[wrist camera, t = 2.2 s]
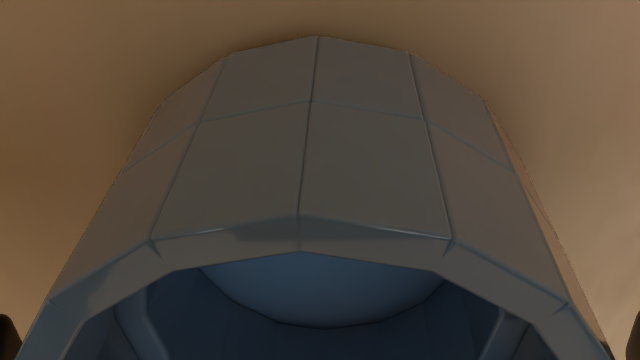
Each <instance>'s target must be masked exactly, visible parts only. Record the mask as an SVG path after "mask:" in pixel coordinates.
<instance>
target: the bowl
mask: <svg viewBox="0 0 640 360" xmlns="http://www.w3.org/2000/svg"><path fill="white" fill-rule="evenodd" d="M14 360H615V358H614V356H613V354H612V352H611V350H610V347H609V345H608V343H607V341H606V339H605V337H604V335H603V332H602V330H601V328H600V326H599V324H598V322H597V320H596V318H595V315H594V313H593V311H592V309H591V307H590V305H589V303H588V300H587V298H586V296H585V294H584V292H583V290H582V288H581V285H580V283H579V281H578V279H577V277H576V275H575V273H574V271H573V268H572V266H571V264H570V262H569V260H568V258H567V256H566V253H565V251H564V249H563V247H562V245H561V244H560V242H559V239H558V237H557V234H556V232H555V230H554V228H553V226H552V224H551V222H550V219H549V217H548V215H547V213H546V211H545V209H544V207H543V204H542V202H541V200H540V198H539V196H538V194H537V192H536V189H535V187H534V185H533V183H532V181H531V179H530V177H529V175H528V172H527V170H526V168H525V166H524V164H523V162H522V160H521V158H520V156H519V154H518V153H517V151H516V150H515V148H514V146H513V145H512V143H511V142H510V140H509V138H508V137H507V135H506V133H505V132H504V130H503V129H502V127H501V125H500V124H499V122H498V120H497V119H496V117H495V116H494V114H493V112H492V111H491V109H490V108H489V106H488V104H487V103H486V101H485V100H483V99H481V97H480V95H478V94H476V93H475V92H473V91H472V90H470V89H469V88H467V87H465V86H464V85H462V84H461V83H459V82H458V81H456V80H454V79H453V78H451V77H450V76H448V75H447V74H445V73H444V72H442V71H440V70H439V69H437V68H436V67H434V66H433V65H431V64H429V63H428V62H426V61H425V60H423V59H422V58H420V57H419V56H417V55H415V54H412V53H410V54H409V53H408V52H406V51H404V50H398V49H392V48H387V47H381V46H375V45H370V44H364V43H358V42H352V41H347V40H341V39H335V38H329V37H319V38H318V36H316V35H314V36H309V37H305V38H300V39H295V40H290V41H286V42H281V43H276V44H271V45H267V46H262V47H257V48H253V49H248V50H243V51H238V52H234V53H231V54H229V56H227V57H223V58H222V59H221V60H219V61H218V62H216V63H215V64H213V65H212V66H211V67H209V68H208V69H206V70H205V71H204V72H202V73H201V74H199V75H198V76H197V77H195V78H194V79H192V80H191V81H190V82H188V83H187V84H185V85H184V86H183V87H181V88H180V89H178V90H177V91H176V92H174V93H173V94H171V95H170V96H169V97H167V98H166V99H164V101H163V103H162V104H161V105H160V106H159V107H158V108H157V110H156V111H155V113H154V115H153V117H152V118H151V120H150V122H149V123H148V125H147V127H146V128H145V130H144V132H143V134H142V135H141V137H140V139H139V140H138V142H137V144H136V145H135V147H134V149H133V151H132V152H131V154H130V156H129V157H128V159H127V161H126V162H125V164H124V166H123V168H122V169H121V171H120V173H119V174H118V176H117V178H116V180H115V181H114V183H113V184H112V186H111V188H110V189H109V191H108V193H107V194H106V196H105V198H104V200H103V201H102V203H101V205H100V206H99V208H98V210H97V211H96V213H95V215H94V217H93V218H92V220H91V222H90V223H89V225H88V227H87V228H86V230H85V232H84V234H83V235H82V237H81V239H80V240H79V242H78V244H77V245H76V247H75V249H74V250H73V252H72V254H71V256H70V257H69V259H68V261H67V262H66V264H65V266H64V267H63V269H62V271H61V273H60V274H59V276H58V278H57V279H56V281H55V283H54V284H53V286H52V288H51V290H50V291H49V293H48V295H47V296H46V298H45V300H44V302H43V304H42V306H41V308H40V310H39V311H38V313H37V315H36V317H35V319H34V321H33V323H32V325H31V327H30V329H29V331H28V333H27V335H26V337H25V339H24V341H23V343H22V345H21V347H20V349H19V351H18V353H17V355H16V356H15V358H14Z"/></svg>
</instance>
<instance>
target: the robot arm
mask: <svg viewBox="0 0 640 360" xmlns="http://www.w3.org/2000/svg"><path fill="white" fill-rule="evenodd" d="M21 345H22V341H21V339H20V337H19V335H18V333H17V330H16V328H15V326H14V324H13V322H12V320H11V318H9V317H8V316H7V315H4V314H0V360H14V358H15V356H16V355H17V353H18V351H19V349H20V347H21ZM626 360H640V311H639V312H638V314H637V316H636V319H635V322H634V325H633V328H632V331H631V334H630V337H629V340H628V343H627V347H626Z"/></svg>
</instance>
